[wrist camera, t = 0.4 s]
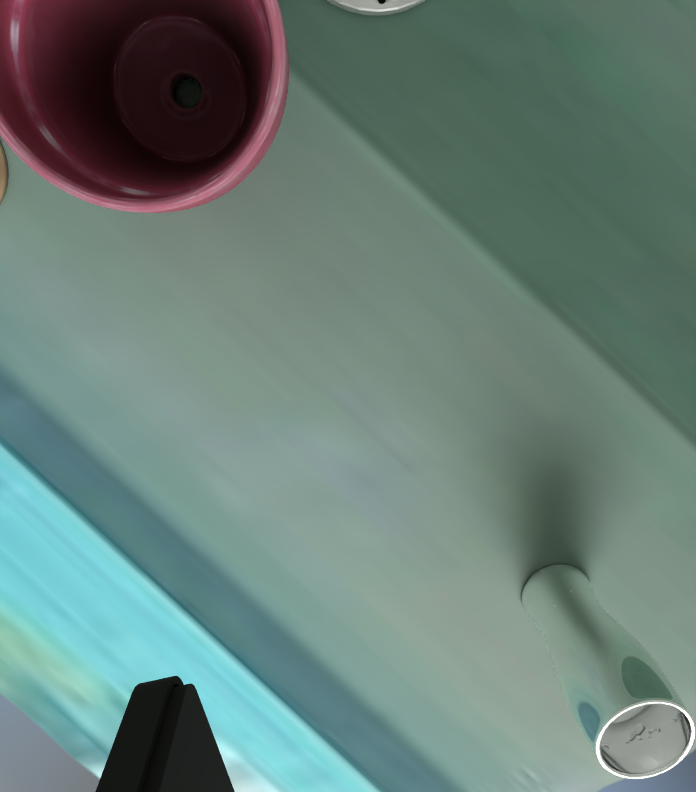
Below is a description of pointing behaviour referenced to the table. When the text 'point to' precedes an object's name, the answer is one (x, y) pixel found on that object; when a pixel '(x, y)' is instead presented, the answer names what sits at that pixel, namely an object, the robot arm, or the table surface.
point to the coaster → (3, 173)
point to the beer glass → (608, 678)
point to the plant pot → (142, 95)
